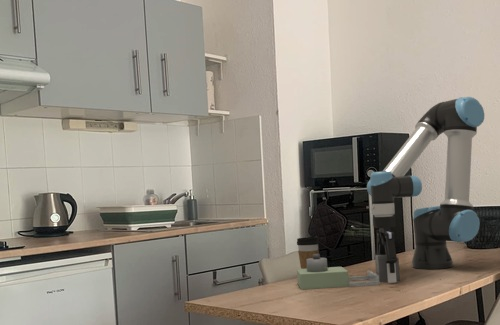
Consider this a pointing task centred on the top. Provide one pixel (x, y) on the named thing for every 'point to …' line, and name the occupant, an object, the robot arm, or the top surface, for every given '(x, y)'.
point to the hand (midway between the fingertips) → (388, 279)
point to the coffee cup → (307, 249)
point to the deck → (321, 275)
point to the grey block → (385, 268)
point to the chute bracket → (371, 276)
